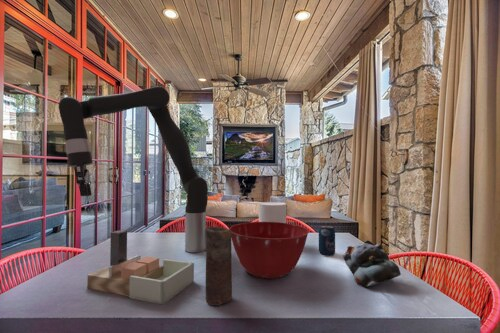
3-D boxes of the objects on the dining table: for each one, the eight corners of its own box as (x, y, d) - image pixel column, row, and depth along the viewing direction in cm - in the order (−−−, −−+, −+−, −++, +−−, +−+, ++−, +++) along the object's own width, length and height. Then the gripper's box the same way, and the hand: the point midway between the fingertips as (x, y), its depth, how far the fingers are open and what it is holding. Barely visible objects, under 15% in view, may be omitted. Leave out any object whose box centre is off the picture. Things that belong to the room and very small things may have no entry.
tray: (129, 297, 74) (129, 276, 74) (164, 276, 88) (164, 259, 89) (162, 304, 70) (163, 282, 70) (193, 281, 85) (193, 262, 85)
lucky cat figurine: (357, 289, 79) (340, 243, 85) (352, 289, 89) (338, 248, 96) (407, 278, 77) (386, 232, 83) (397, 279, 88) (379, 238, 94)
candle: (206, 293, 76) (206, 225, 77) (231, 292, 77) (231, 224, 77) (204, 307, 69) (204, 231, 69) (232, 306, 69) (232, 230, 70)
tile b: (120, 277, 78) (120, 267, 78) (133, 271, 82) (133, 262, 82) (134, 280, 76) (134, 269, 76) (146, 273, 81) (146, 264, 81)
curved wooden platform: (87, 287, 80) (87, 274, 80) (123, 271, 93) (123, 260, 93) (131, 296, 74) (131, 282, 74) (163, 277, 88) (163, 265, 88)
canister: (268, 239, 138) (268, 201, 139) (291, 243, 131) (291, 203, 131) (253, 244, 128) (253, 203, 128) (277, 249, 120) (277, 205, 120)
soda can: (329, 257, 108) (329, 228, 109) (315, 253, 114) (315, 226, 114) (338, 254, 113) (338, 226, 113) (324, 250, 118) (324, 224, 118)
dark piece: (98, 274, 80) (99, 235, 80) (128, 262, 91) (128, 227, 91) (111, 277, 78) (112, 237, 78) (140, 263, 90) (140, 228, 90)
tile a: (135, 270, 83) (135, 261, 83) (146, 265, 88) (146, 256, 88) (148, 272, 82) (148, 263, 82) (159, 267, 86) (159, 258, 86)
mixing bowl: (265, 253, 114) (265, 218, 114) (324, 271, 93) (324, 228, 94) (212, 270, 94) (213, 227, 94) (273, 298, 74) (273, 243, 74)
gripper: (87, 148, 91) (95, 193, 91) (93, 154, 104) (100, 194, 104) (61, 151, 88) (70, 198, 88) (71, 156, 101) (78, 197, 101)
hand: (86, 195), depth 96 cm, fingers open, 8 cm apart
